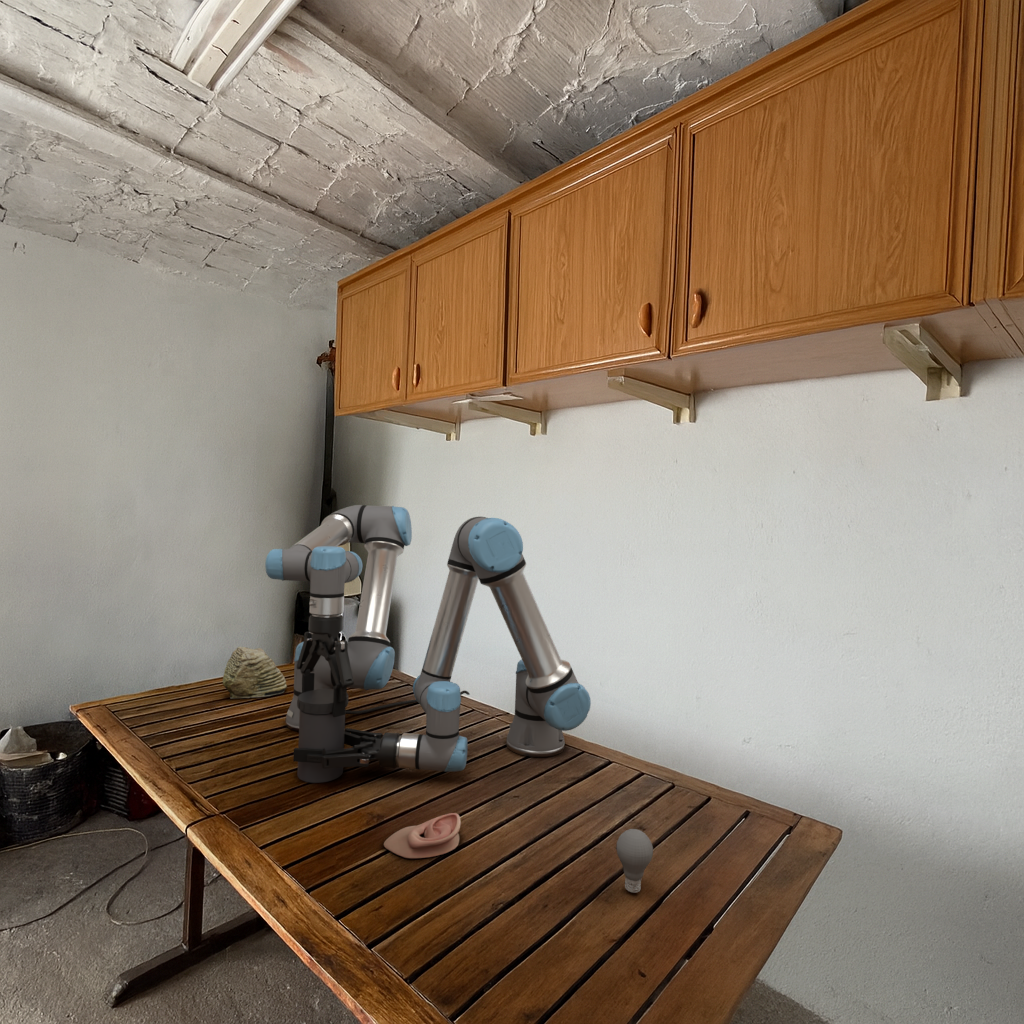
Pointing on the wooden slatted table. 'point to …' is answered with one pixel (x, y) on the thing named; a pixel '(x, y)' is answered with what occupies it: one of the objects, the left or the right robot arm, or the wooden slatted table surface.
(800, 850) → the wooden slatted table surface
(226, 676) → the fossil
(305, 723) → the jar
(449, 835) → the anatomical model
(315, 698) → the lid
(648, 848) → the light bulb
